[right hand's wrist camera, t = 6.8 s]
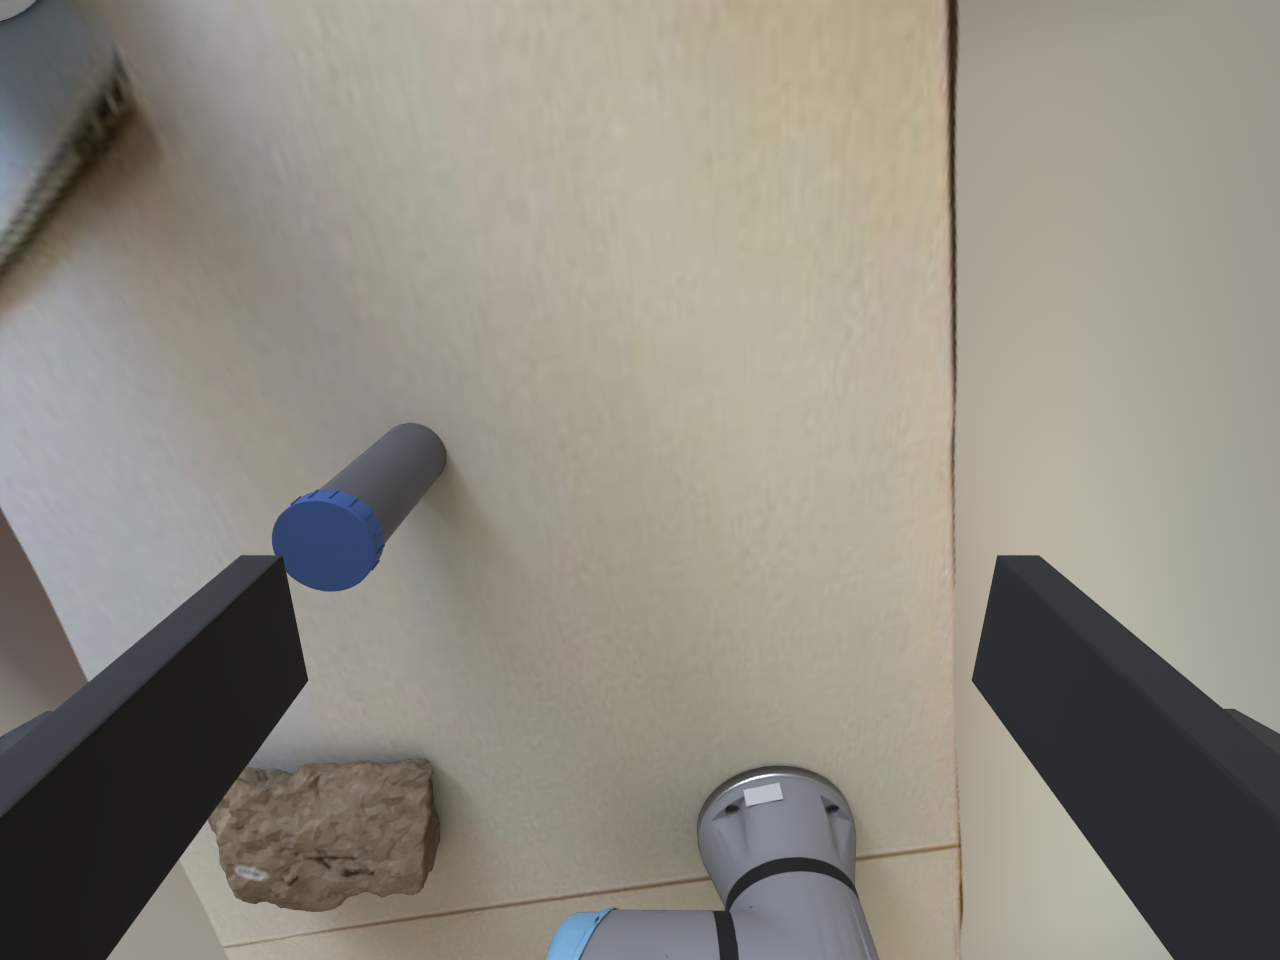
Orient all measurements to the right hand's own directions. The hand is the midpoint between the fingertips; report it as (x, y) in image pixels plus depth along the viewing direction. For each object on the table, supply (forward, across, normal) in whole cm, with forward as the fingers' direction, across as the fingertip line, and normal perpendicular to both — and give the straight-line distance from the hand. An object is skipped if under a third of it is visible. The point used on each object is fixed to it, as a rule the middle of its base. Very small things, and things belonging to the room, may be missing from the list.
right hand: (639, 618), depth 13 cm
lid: (+24, +18, +10) cm, 32 cm away
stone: (+41, +30, +46) cm, 68 cm away
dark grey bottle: (+41, +18, +10) cm, 46 cm away
